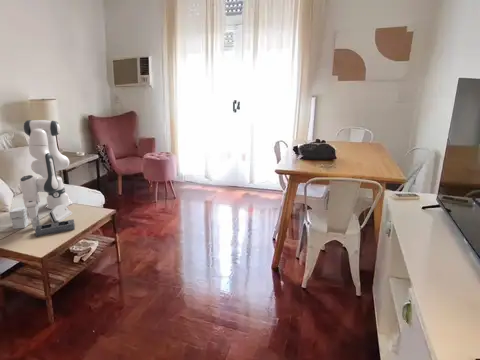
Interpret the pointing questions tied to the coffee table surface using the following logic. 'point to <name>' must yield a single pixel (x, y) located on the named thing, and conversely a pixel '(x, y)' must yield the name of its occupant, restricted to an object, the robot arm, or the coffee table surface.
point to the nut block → (35, 223)
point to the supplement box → (19, 217)
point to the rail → (55, 227)
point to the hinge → (59, 213)
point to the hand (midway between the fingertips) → (36, 220)
